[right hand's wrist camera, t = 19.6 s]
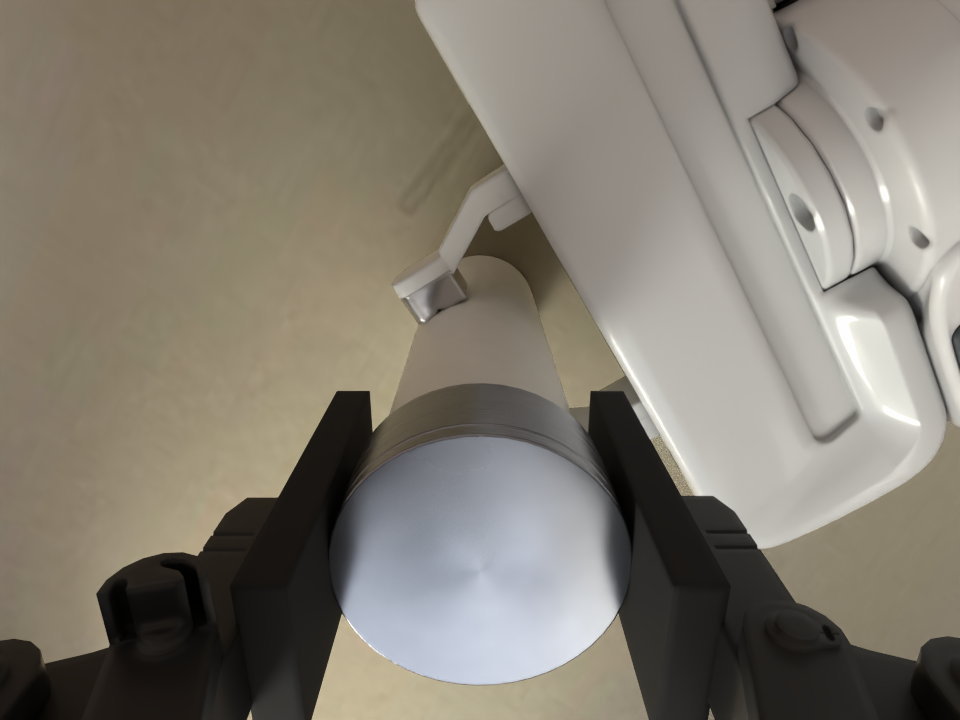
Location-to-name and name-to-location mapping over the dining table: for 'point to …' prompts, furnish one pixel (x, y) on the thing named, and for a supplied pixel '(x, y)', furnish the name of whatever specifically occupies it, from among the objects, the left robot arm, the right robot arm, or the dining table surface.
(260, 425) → the dining table surface
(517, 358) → the bottle
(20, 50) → the dining table surface
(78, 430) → the dining table surface
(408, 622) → the lid
